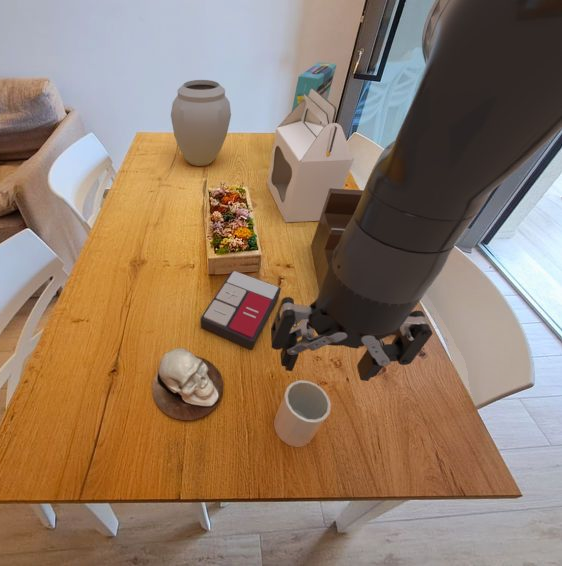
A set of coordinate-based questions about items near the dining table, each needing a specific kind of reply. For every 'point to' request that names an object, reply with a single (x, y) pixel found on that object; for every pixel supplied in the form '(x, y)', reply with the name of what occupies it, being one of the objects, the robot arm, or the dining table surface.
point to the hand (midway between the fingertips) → (324, 369)
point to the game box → (314, 82)
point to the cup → (301, 413)
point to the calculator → (241, 309)
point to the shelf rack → (333, 228)
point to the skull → (186, 385)
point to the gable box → (308, 159)
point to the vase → (200, 120)
